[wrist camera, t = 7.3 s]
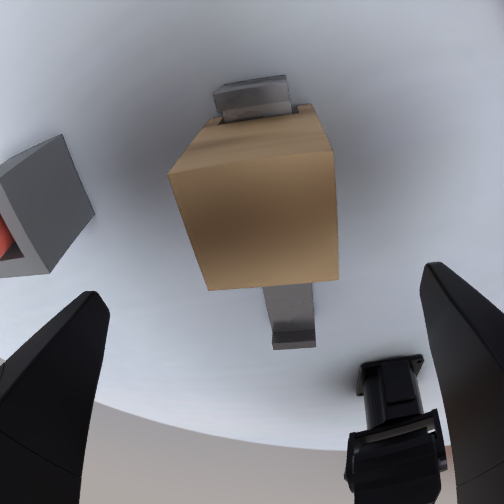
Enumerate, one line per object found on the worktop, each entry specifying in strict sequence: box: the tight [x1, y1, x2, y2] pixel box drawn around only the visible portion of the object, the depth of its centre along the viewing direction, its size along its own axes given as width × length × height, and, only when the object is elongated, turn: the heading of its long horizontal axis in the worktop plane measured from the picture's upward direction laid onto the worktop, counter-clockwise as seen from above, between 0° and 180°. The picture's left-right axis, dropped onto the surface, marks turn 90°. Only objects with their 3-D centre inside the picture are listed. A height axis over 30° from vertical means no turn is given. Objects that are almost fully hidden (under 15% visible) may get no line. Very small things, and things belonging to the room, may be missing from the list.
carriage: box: [167, 104, 339, 291], centre depth 13 cm, size 5×5×7 cm
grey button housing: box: [0, 134, 95, 278], centre depth 16 cm, size 6×6×6 cm
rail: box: [213, 75, 316, 350], centre depth 18 cm, size 17×3×3 cm, turn 10°
